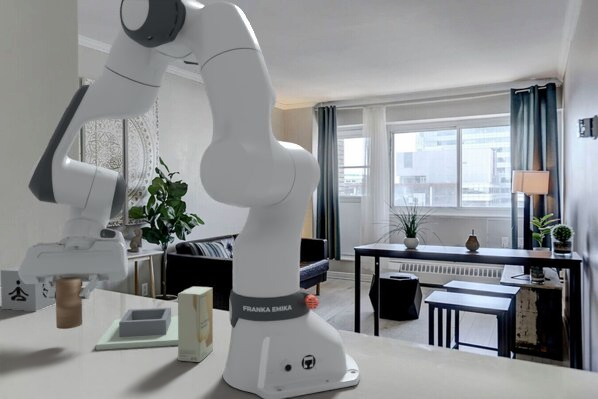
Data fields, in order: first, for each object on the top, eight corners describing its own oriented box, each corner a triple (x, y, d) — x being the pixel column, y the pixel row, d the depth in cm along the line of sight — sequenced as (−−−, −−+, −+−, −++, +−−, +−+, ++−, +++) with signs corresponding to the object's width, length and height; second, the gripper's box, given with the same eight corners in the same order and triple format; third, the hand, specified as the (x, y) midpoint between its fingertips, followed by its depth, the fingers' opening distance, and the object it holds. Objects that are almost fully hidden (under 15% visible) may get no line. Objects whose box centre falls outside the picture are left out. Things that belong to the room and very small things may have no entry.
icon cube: (33, 299, 120) (32, 263, 120) (65, 301, 118) (64, 264, 118) (1, 309, 110) (0, 270, 110) (35, 312, 108) (34, 271, 108)
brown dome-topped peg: (85, 320, 89) (84, 276, 88) (78, 328, 84) (77, 281, 84) (61, 322, 88) (60, 277, 88) (52, 329, 84) (51, 282, 83)
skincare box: (199, 363, 77) (199, 294, 77) (177, 361, 78) (176, 293, 78) (214, 349, 84) (213, 286, 83) (192, 348, 85) (192, 285, 84)
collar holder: (188, 319, 102) (188, 302, 102) (182, 344, 86) (182, 324, 86) (115, 323, 99) (115, 305, 99) (95, 349, 84) (95, 329, 83)
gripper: (25, 234, 91) (3, 292, 81) (129, 231, 94) (119, 287, 85) (34, 252, 95) (15, 309, 86) (133, 249, 99) (124, 304, 89)
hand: (67, 298), depth 85 cm, fingers closed on brown dome-topped peg, 4 cm apart
